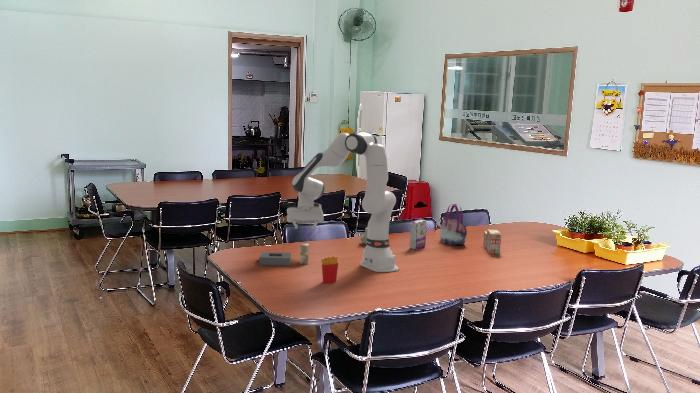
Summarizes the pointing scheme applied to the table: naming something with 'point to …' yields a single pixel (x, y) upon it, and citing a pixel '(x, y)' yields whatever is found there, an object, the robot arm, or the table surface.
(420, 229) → the candy bar box
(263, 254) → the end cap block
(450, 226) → the handbag
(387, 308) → the table surface
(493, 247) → the beige snack box
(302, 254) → the tan tall block
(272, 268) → the table surface
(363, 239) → the air freshener
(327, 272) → the french fries
